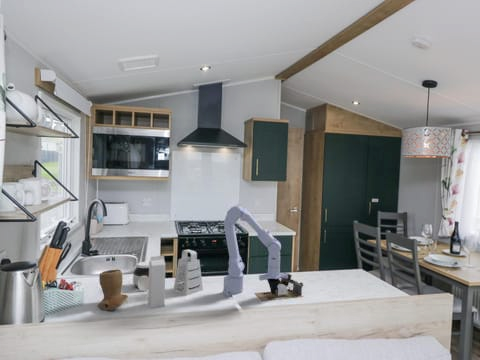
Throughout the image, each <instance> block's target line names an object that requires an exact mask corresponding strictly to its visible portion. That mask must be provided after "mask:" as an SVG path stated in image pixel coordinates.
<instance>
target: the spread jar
mask: <svg viewBox="0 0 480 360" xmlns="http://www.w3.org/2000/svg"><path fill="white" fill-rule="evenodd" d="M149 262H150V261H141V262H138V263H136V264H137V265H136V268H135V269H134V271H133V275H132V283H133V285H134V286H135V287H137V289H139V291H143V292H144V291H145V292H146V291H148V288H149Z"/></svg>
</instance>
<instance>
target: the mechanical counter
mask: <svg viewBox="0 0 480 360" xmlns="http://www.w3.org/2000/svg"><path fill="white" fill-rule="evenodd" d="M283 273H286V274H288V278H280V283H279V284H284V285H285V286H289V283H290V284H292V285H293V281H295V280H294V279H292V274H290V273H288V272H285V271H284V272H283ZM299 283H300V284H301V285H302V287H304V283H303V282H299Z"/></svg>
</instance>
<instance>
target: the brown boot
mask: <svg viewBox="0 0 480 360" xmlns="http://www.w3.org/2000/svg"><path fill="white" fill-rule="evenodd" d="M98 280H99V285H100V288H101V291H102V293H103V298H102V300H101V301H99V303H98V304H97V307H98V308H100V309H102V310H104V311H108V312H109V311H114V310H117V309H118V308H119V307H120V306H122V305H123V304H124V303H125V302H126V301H127V299H128V298H129V295H127V294H124V293H121V291H122V286H123V282H124V281H123V273H122V271H121V269H118V268H117V269H107V270H104V271H102V272H100V273H99V279H98Z"/></svg>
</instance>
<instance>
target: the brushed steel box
mask: <svg viewBox="0 0 480 360" xmlns="http://www.w3.org/2000/svg"><path fill="white" fill-rule="evenodd" d="M289 290H291V288H290V287H289V286H287V285H285V284H280V283H279V284H278V286H277V289H276V292H275V294H276V295H277V296H286V295H287V291H289Z"/></svg>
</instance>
